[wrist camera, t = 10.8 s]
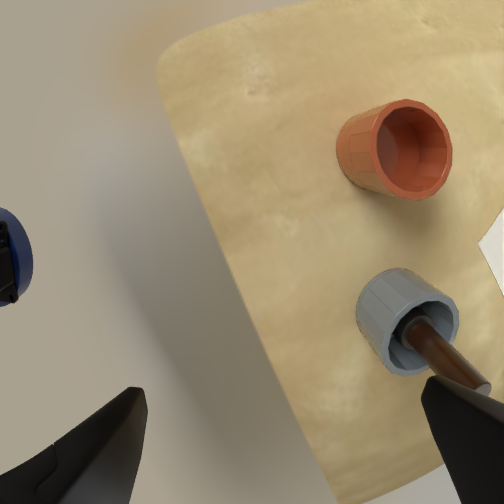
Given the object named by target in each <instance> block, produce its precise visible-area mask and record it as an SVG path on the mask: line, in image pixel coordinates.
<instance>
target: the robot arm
mask: <svg viewBox="0 0 504 504" xmlns="http://www.w3.org/2000/svg"><path fill="white" fill-rule="evenodd" d="M1 225H2V227H3V229H2V228H1ZM12 295H13V297H14V298H13V297H12ZM18 298H19V297H18V292H17V286H16V281H15V276H14V270H13V264H12V257H11V250H10V242H9V233H8V225H7V222H6V221H5V220H0V302H7V303H15V302H16V301H18ZM421 402H422V405H423V408H424V411H425V414H426V417H427V420H428V423H429V426H430V429H431V432H432V435H433V437H434V440H435V442H436V444H437V446H438V449H439V451H440V453H441V455H442V458H443V460H444V462H445V465H446V467H447V469H448V472H449V474H450V476H451V479H452V481H453V484H454V486H455V489H456V491H457V494H458V496H459V499H460V501H461V504H504V404H503V403H501V402H499V401H496V400H494V399H492V398H490V397H488V396H485V395H483V394H481V393H479V392H476V391H474V390H472V389H470V388H468V387H465V386H463V385H461V384H459V383H457V382H454V381H452V380H450V379H448V378H446V377H444V376H441V375H435V376H431V377H429V378H428V379H427V382H426V384H425V387H424V390H423V392H422V395H421ZM147 414H148V409H147V404H146V399H145V394H144V390H143V389H142V388H139V387H128V388H127V389H126V390H124V391H123V392H122V393H120V394H119V395H118V396H116V397H115V398H114V399H112V400H111V401H110V402H108V403H107V404H106V405H104V406H103V407H102V408H100V409H99V410H98V411H96V412H95V413H94V414H92V415H91V416H90V417H88V418H87V419H86V420H85V421H83V422H82V423H80V424H79V425H78V426H76V427H75V428H74V429H72V430H71V431H70V432H68V433H67V434H65V435H64V436H63V437H61V438H60V439H59V440H57V441H56V442H54V445H53V444H51V445H50V446H49V447H47V448H46V449H44V450H43V451H42V452H40V453H39V454H37V455H36V456H34V457H33V458H31V459H29V460H28V461H26V462H24V463H23V464H21V465H19V466H17V467H15V468H14V469H12V470H10V471H8V472H6V473H4V474H2V475H0V504H129V501H130V498H131V494H132V490H133V486H134V482H135V478H136V475H137V471H138V467H139V463H140V460H141V455H142V449H143V442H144V434H145V428H146V421H147Z"/></svg>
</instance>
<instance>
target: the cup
mask: <svg viewBox="0 0 504 504" xmlns="http://www.w3.org/2000/svg"><path fill="white" fill-rule="evenodd" d="M416 306H418V307H419V308H421V309H422V310H423V311H424V312H425V313H426V314H427V315H429V316H430V317H431V318H432V319H433V321H434V325H435V328H434V329H435V330H436V331H437V332H438V333H439V334H440V335H441V336H442V337H443V338H444V339H445V340H447V341H448V342H449V343H450V344H451V345H452V344H453V342H454V340H455V337H456V334H457V331H458V327H459V311H458V309H457V307H456V305H455V303H454V301H453V300H452V299H451V298H450V297H449V296H447V295H446V294H444V293H443V292H442V291H440V290H439V289H437V288H436V287H434V286H433V285H432V284H430V283H429V282H427V281H426V280H424V279H423V278H421V277H420V276H418V275H416V274H415V273H413V272H411V271H409V270H407V269H401V268H396V269H390V270H387V271H384V272H382V273H380V274H379V275H377V276H376V277H375V278H373V279H372V280H371V281H370V282H369V283H368V284H367V286H366V287H365V288H364V290H363V291H362V293H361V295H360V297H359V300H358V302H357V307H356V321H357V324H358V327H359V329H360V331H361V333H362V334H363V335H364V337H365V338H366V340H367V341H368V342H369V344H370V345H371V347H372V348H373V350H374V351H375V353H376V354H377V355H378V357H379V358H380V360H381V361H382V363H383V364H384V365H385V366H386V368H387V369H388V370H389V371H390V372H391V373H393V374H397V375H400V376H411V375H417V374H420V373H422V372H424V371H426V370H427V369H429V368H430V367H429V366H428V365H427V364H426V363H425V361H424V360H423V359H422V358H421V357H420V356H419V355H418V353H417V352H416V351H415V350H413V351H411V350H407V349H405V348H404V347H403V346H402V344H401V343H400V342H399V341H398V340H397V339H396V337H395V336H394V335H393V334H392V332H393V331H394V329H395V327H396V326H397V324H398V323H399V321H400V319H401V318H402V317H404V316H405V315H406V314H407V313H408V312H409V311H410V310H411V309H412V308H414V307H416Z"/></svg>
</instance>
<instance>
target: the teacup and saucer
mask: <svg viewBox="0 0 504 504" xmlns="http://www.w3.org/2000/svg"><path fill="white" fill-rule="evenodd" d="M478 246H479V247H480V249H481V251H482V253H483V255H484V257H485V259H486V260H487V262H488V264H489V266H490V268H491V270H492V272H493V274H494V276H495V278H496V280H497V282H498V284H499V287H500V289H501V291H502V293H503V295H504V209H503V210H502V212H501V213H500V214H499V216H498V217H497V219H496V220H495V222H494V223H493V224H492V226H491V227H490V229H489V230H488V231H487V233H486V234H485V235H484V237H483V238H482V239H481V241H480V242H479V243H478Z"/></svg>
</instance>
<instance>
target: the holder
mask: <svg viewBox="0 0 504 504" xmlns="http://www.w3.org/2000/svg"><path fill="white" fill-rule="evenodd" d="M336 152H337V158H338V162H339V165H340V167H341V169H342V171H343V172H344V174H345V175H346V176H347V178H348V179H349V180H350V181H352V182H353V183H354V184H356V185H357V186H359V187H361V188H364V189H368V190H372V191H377V192H379V193H382V194H387V195H391V196H395V197H399V198H403V199H411V200H421V199H424V198H426V197H429V196H432V195H434V194H435V193H436V192H437V191H438V190H439V189H440V188H441V187H442V186H443V184H444V183H445V182H446V180H447V177H448V175H449V172H450V169H451V166H452V144H451V140H450V136H449V133H448V130H447V128H446V126H445V125H444V123H443V122H442V120H441V119H440V117H439V116H438V114H437V113H436V112H434V111H433V110H432V109H430V108H429V107H428V106H426V105H425V104H424V103H421V102H417V101H413V100H409V99H403V100H399V101H395V102H391V103H388V104H385V105H382V106H379V107H376V108H374V109H371V110H369V111H367V112H364V113H361V114H359V115H356V116H354V117H352V118H351V119H349V120H348V121H347V122H346V123H345V124H344V126H343V127H342V129H341V131H340V133H339V135H338V139H337V145H336Z"/></svg>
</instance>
